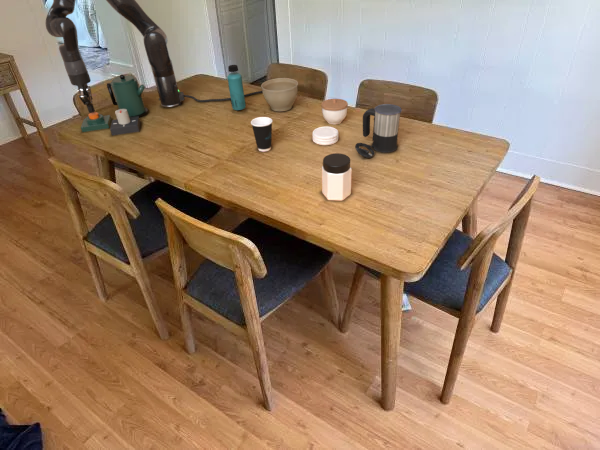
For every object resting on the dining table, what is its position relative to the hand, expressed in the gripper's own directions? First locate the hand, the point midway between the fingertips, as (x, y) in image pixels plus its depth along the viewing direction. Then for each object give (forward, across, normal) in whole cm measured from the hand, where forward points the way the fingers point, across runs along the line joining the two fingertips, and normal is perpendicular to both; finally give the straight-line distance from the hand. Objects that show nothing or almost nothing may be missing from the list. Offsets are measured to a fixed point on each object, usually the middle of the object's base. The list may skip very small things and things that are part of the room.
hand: (92, 112), depth 177 cm
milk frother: (+6, +63, +105) cm, 122 cm away
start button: (+3, 0, 0) cm, 3 cm away
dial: (+3, +9, +13) cm, 16 cm away
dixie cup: (+6, +47, +66) cm, 82 cm away
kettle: (+6, -7, +15) cm, 18 cm away
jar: (+6, +85, +82) cm, 118 cm away
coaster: (+6, +48, +90) cm, 102 cm away
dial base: (+6, +9, +13) cm, 17 cm away
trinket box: (+6, +33, +99) cm, 104 cm away
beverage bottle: (+6, +6, +62) cm, 63 cm away
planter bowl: (+6, +10, +81) cm, 82 cm away
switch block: (+6, 0, 0) cm, 6 cm away
